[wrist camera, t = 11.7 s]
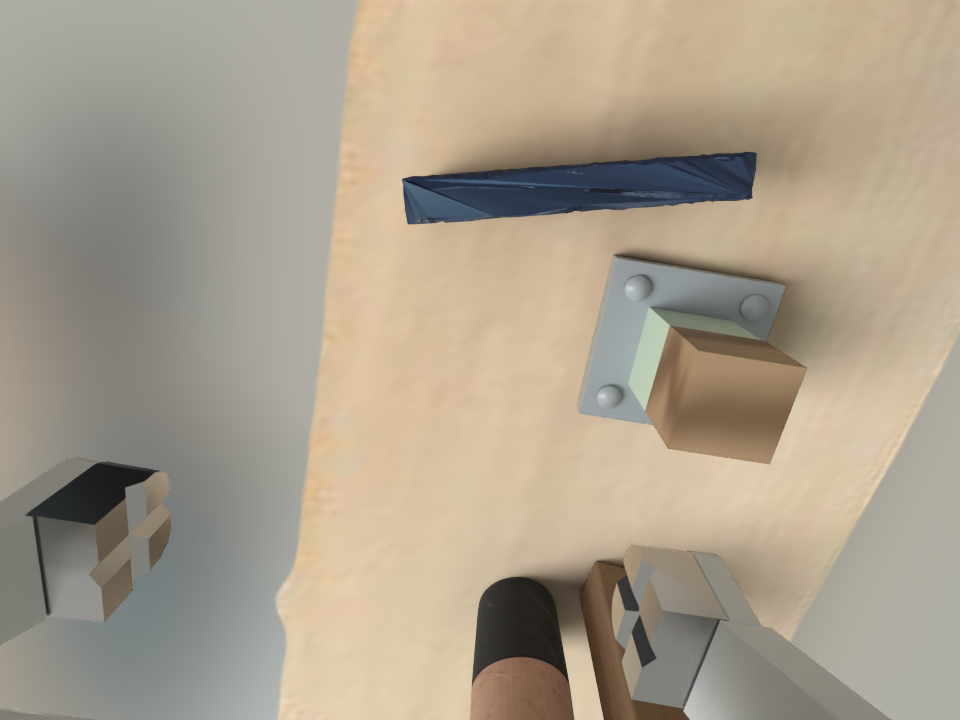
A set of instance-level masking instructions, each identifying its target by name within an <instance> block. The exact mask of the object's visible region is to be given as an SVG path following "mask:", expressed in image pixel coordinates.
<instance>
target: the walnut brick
mask: <svg viewBox="0 0 960 720" xmlns="http://www.w3.org/2000/svg"><path fill="white" fill-rule="evenodd" d="M806 370H807V368H806V367H805V366H803V365H801V364H800V363H798V362H797V361H795V360H794V359H792V358H790V357H789V356H787V355H786V354H784V353H782V352H781V351H779V350H778V349H776V348H774V347H773V346H771V345H770V344H768V343H767V342H765V341H763V340H757V339H751V338H745V337H739V336H732V335H726V334H720V333H714V332H708V331H701V330H695V329H689V328H683V327H676V326H669V330H668V333H667V337H666V340H665V344H664V347H663V351H662V354H661V358H660V361H659V365H658V368H657V372H656V375H655V379H654V382H653V386H652V389H651V392H650V396H649V399H648V403H647V406H646V410H645V412H646V414H647V416H648V417H649V419H650V420H651V422H652V424H653V425H654V427H655V429H656V430H657V432H658V433H659V435H660V437H661V438H662V440H663V441H664V443H665V445H666V446H667V448H668V449H674V450H680V451H687V452H693V453H699V454H706V455H712V456H719V457H725V458H732V459H738V460H745V461H751V462H758V463H764V464H770V463H771V460H772V457H773V455H774V452H775V450H776V447H777V445H778V442H779V439H780V437H781V434H782V432H783V429H784V427H785V424H786V421H787V419H788V416H789V414H790V411H791V409H792V406H793V403H794V401H795V398H796V396H797V393H798V391H799V388H800V386H801V383H802V380H803V378H804V375H805V373H806Z"/></svg>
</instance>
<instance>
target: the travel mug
mask: <svg viewBox="0 0 960 720" xmlns="http://www.w3.org/2000/svg"><path fill="white" fill-rule="evenodd" d="M470 720H574V715H573V707H572V699H571V692H570V686H569V680H568V674H567V668H566V663H565V657H564V651H563V646H562V640H561V634H560V629H559V623H558V618H557V612H556V607H555V603H554V600H553V598H552V596H551V594H550V593H549V591H548V590H547V589H546V588H545V587H543V586H542V585H541V584H539V583H537V582H535V581H533V580H530V579H525V578H508V579H504V580H501V581H498V582H496V583H494V584H493V585H491V586H490V587H489V588H488V589H487V590H486V591H485V592H484V593H483V595H482V597H481V599H480V602H479V608H478V617H477V628H476V641H475V653H474V665H473V678H472V691H471V716H470Z"/></svg>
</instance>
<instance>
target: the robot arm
mask: <svg viewBox="0 0 960 720" xmlns="http://www.w3.org/2000/svg"><path fill="white" fill-rule="evenodd" d="M169 488H170V487H169V476H168V475H166V474H165V473H164V472H163V471H160V470H154V469H149V468H143V467H137V466H131V465H126V464H120V463H115V462H109V461H102V460H96V459H90V458H84V457H70V458H66V459H65V460H63V461H61V462H60V463H58V464H57V465H56V466H54V467H52V468H51V469H49V470H48V471H46V472H45V473H43V474H42V475H40V476H39V477H37V478H36V479H34V480H33V481H31V482H29V483H28V484H26V485H25V486H23V487H22V488H20V489H19V490H17V491H16V492H14V493H13V494H11V495H10V496H8V497H7V498H5V499H4V500H2V501H0V645H1V644H3V643H5V642H7V641H8V640H10V639H12V638H14V637H16V636H17V635H19V634H21V633H23V632H25V631H26V630H28V629H30V628H32V627H33V626H35V625H37V624H39V623H41V622H42V621H44V620H46V619H47V616H54V617H62V618H71V619H79V620H88V621H96V622H105V621H106V620H107V619H108V618H109V616H110V615H111V614H112V613H113V612H114V611H115V610H116V609H117V607H118V606H119V605H120V604H121V603H122V602H123V601H124V599H125V598H126V597H127V596H128V595H129V594H130V593H131V591H132V578H135V577H136V576H139V575H141V574H143V573H145V572H147V571H149V570H151V568H152V567H153V566H154V565H155V564H156V562H157V561H158V560H159V559H160V558H161V556H162V553H163V551H164V549H165V547H166V545H167V543H168V540H169V536H170V530H171V514H170V513H169V512H168V510H167V509H166V508H165V506H164V505H163V504H162V501H163V500H164V499H165V498H166V497H167V496H168V494H169V493H170V489H169ZM623 563H624V566H625V570H626V573H627V575H626V576H625V577H623V578H622V579H621V580H619V581H618V582H617V584H616V587H615V591H614V595H613V600H612V614H611V615H612V625H613V630H614V634H615V639H616V640H617V641H618V642H619V644H620V645H621V646H622V647H623V648H624V649H625V653H624V656H623V660H622V666H623V670H624V673H625V677H626V681H627V685H628V689H629V692H630V696H631V699H633V700H638V701H644V702H650V703H655V704H661V705H667V706H672V707H678V708H684V713H685V714H686V715H687V716H688V718H689V719H690V720H891V719H889V718H888V717H887V716H886V715H884V714H883V713H882V712H880V711H879V710H878V709H876V708H875V707H874V706H872V705H871V704H870V703H869V702H867V701H866V700H865V699H863V698H862V697H861V696H859V695H858V694H857V693H856V692H854V691H853V690H851V689H850V688H849V687H847V686H846V685H845V684H843V683H842V682H841V681H840V680H839V679H837V678H836V677H835V676H833V675H832V674H830V673H829V672H828V671H827V670H825V669H824V668H823V667H822V666H820V665H819V664H817V663H816V662H815V661H814V660H812V659H811V658H810V657H808V656H807V655H806V654H805V653H803V652H802V651H801V650H799V649H798V648H797V647H795V646H794V645H793V644H792V643H790V642H789V641H788V640H786V639H785V638H784V637H782V636H781V635H780V634H778V633H777V632H776V631H775V630H773V629H772V628H768V627H762V626H761V624H760V622H759V621H758V619H757V617H756V616H755V614H754V612H753V610H752V609H751V607H750V605H749V604H748V602H747V600H746V599H745V597H744V595H743V594H742V592H741V590H740V589H739V587H738V585H737V584H736V582H735V580H734V578H733V577H732V575H731V573H730V572H729V570H728V568H727V567H726V565H725V563H724V562H723V560H722V559H721V558H720V557H719V556H717V555H716V554H709V553H701V552H693V551H687V552H686V551H679V550H672V549H665V548H659V547H652V546H645V545H638V544H631V545H630V547H629V548H628V550H627V552H626V555H625V558H624V561H623ZM0 720H94V719H87V718H80V717H72V716H66V715H59V714H51V713H44V712H37V711H30V710H23V709H15V708H8V707H2V706H0Z"/></svg>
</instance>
